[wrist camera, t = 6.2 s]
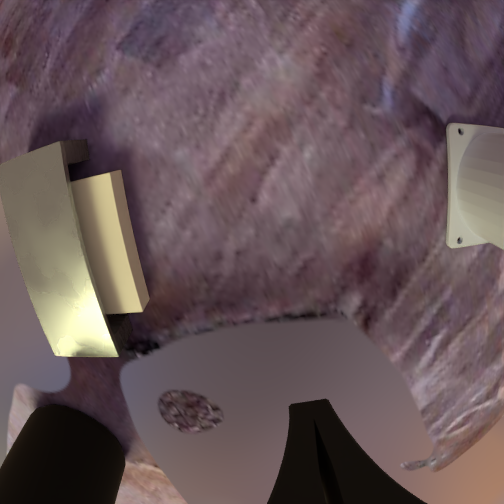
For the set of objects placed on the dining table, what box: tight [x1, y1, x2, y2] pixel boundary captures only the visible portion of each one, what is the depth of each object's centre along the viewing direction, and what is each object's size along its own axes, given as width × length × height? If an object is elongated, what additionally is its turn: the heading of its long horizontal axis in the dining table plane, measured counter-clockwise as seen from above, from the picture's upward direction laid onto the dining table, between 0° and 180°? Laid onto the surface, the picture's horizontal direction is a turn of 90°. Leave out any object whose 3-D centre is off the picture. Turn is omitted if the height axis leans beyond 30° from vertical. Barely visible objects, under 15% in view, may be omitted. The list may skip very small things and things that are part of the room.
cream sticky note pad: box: [71, 170, 150, 314], centre depth 17 cm, size 6×8×2 cm
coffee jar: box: [0, 404, 125, 504], centre depth 16 cm, size 11×11×18 cm
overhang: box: [0, 139, 132, 357], centre depth 16 cm, size 5×12×3 cm, turn 7°
